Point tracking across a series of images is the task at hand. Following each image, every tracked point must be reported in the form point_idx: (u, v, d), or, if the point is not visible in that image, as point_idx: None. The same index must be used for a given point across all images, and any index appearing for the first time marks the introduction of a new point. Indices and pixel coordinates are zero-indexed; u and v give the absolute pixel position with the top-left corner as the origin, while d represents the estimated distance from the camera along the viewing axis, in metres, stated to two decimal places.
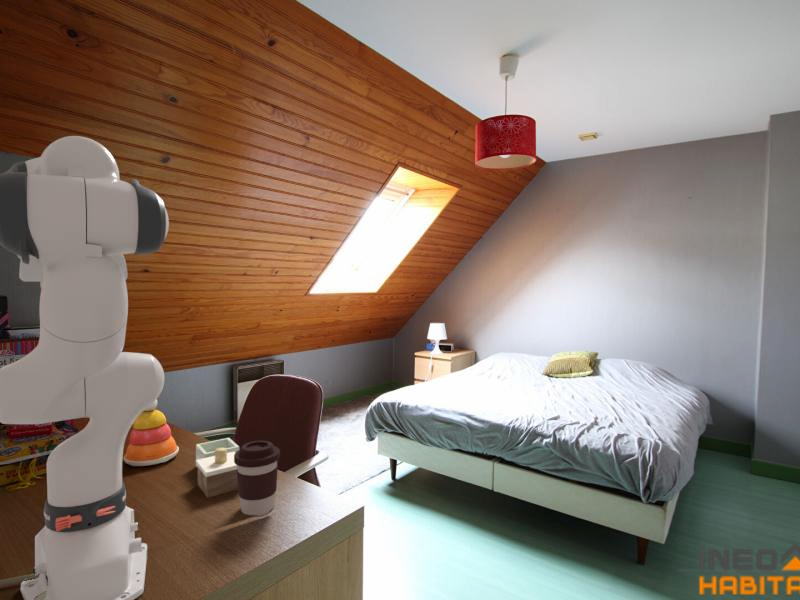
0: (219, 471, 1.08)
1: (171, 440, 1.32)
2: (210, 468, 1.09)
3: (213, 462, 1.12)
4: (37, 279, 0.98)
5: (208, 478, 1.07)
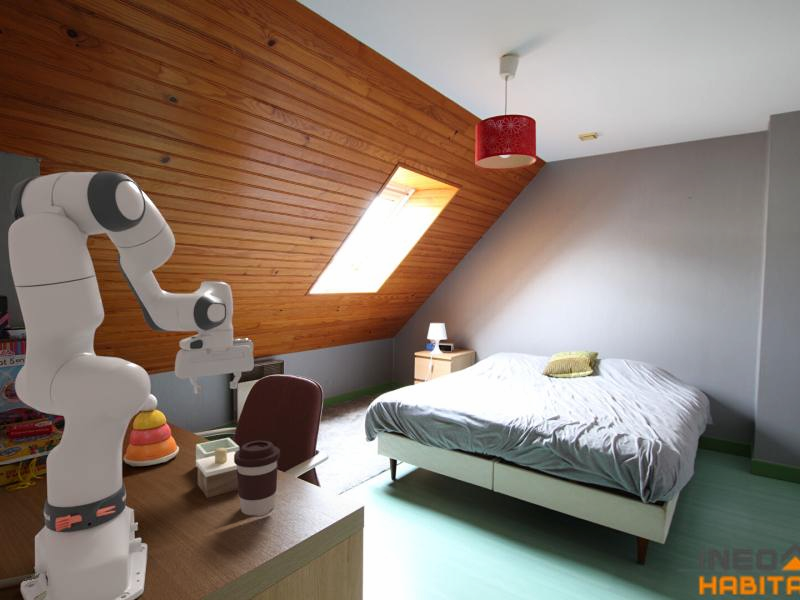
0: (219, 471, 1.08)
1: (171, 440, 1.32)
2: (210, 468, 1.09)
3: (213, 462, 1.12)
4: None
5: (208, 478, 1.07)
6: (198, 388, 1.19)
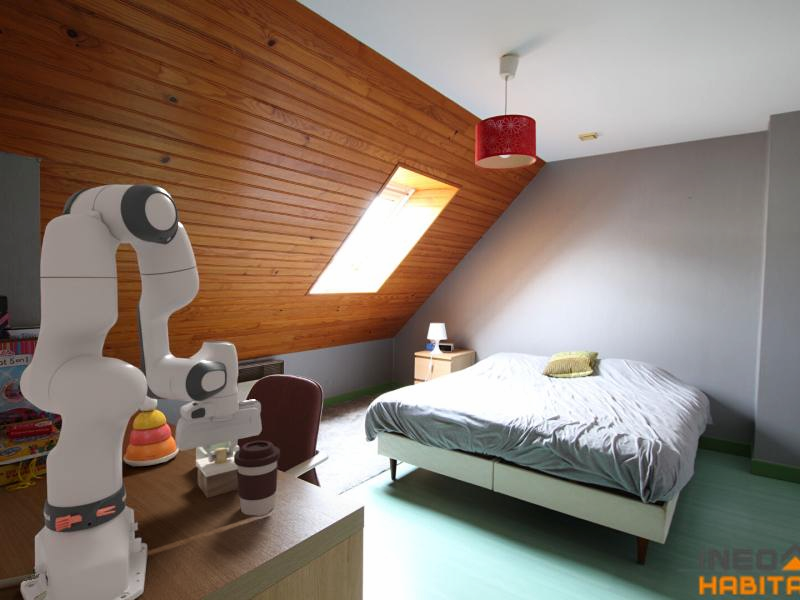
0: (219, 471, 1.08)
1: (171, 440, 1.32)
2: (210, 468, 1.09)
3: (213, 462, 1.12)
4: None
5: (208, 478, 1.07)
6: (212, 456, 1.11)
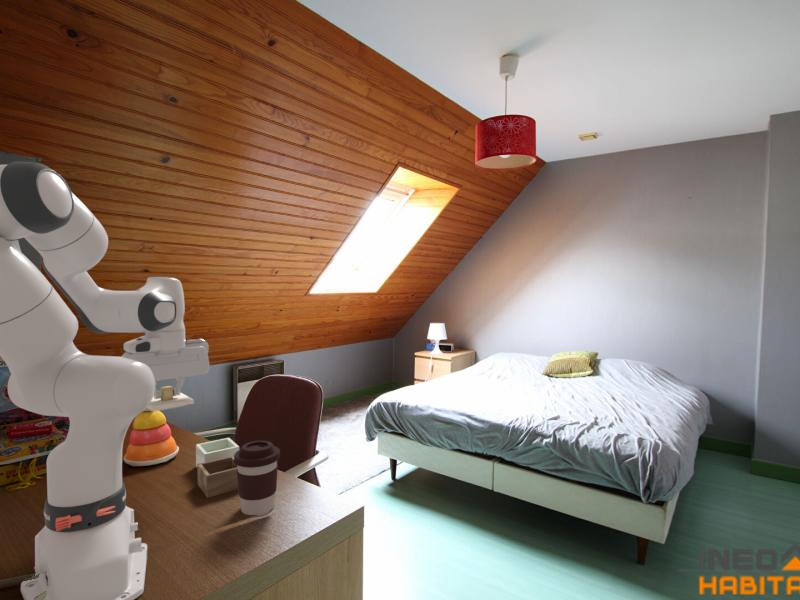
0: (165, 406, 1.08)
1: (171, 440, 1.32)
2: (156, 404, 1.08)
3: (159, 400, 1.11)
4: None
5: (208, 478, 1.07)
6: (158, 393, 1.10)
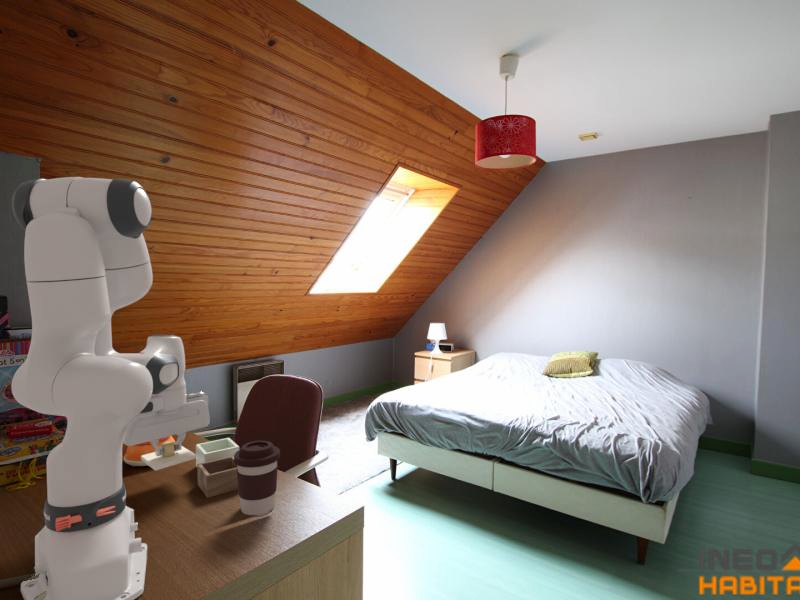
0: (168, 464, 1.09)
1: (171, 440, 1.32)
2: (158, 462, 1.09)
3: (160, 456, 1.12)
4: None
5: (208, 478, 1.07)
6: (160, 450, 1.11)
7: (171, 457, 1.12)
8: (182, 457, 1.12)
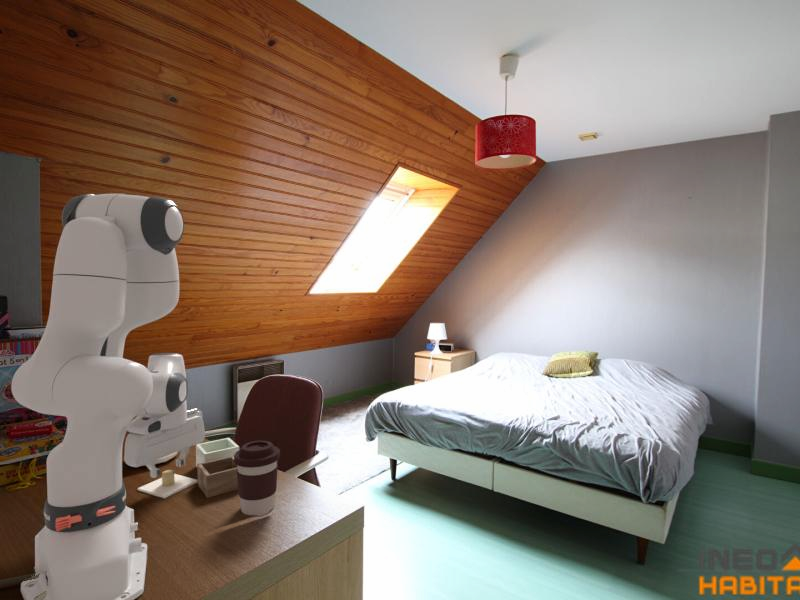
0: (175, 492, 1.09)
1: None
2: (164, 491, 1.09)
3: (161, 486, 1.12)
4: None
5: (208, 478, 1.07)
6: (157, 471, 1.09)
7: (173, 485, 1.12)
8: (185, 484, 1.13)
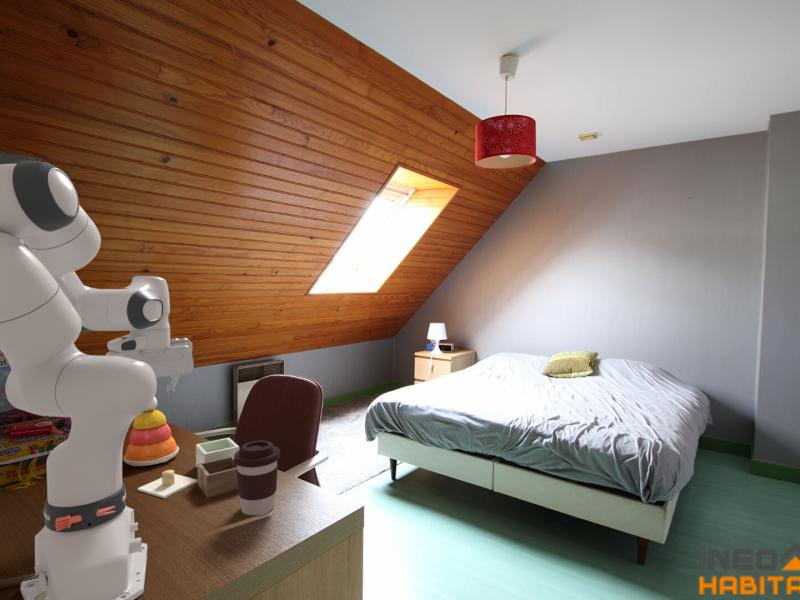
0: (175, 492, 1.09)
1: (171, 440, 1.32)
2: (164, 491, 1.09)
3: (161, 486, 1.12)
4: None
5: (208, 478, 1.07)
6: None
7: (173, 485, 1.12)
8: (186, 484, 1.13)
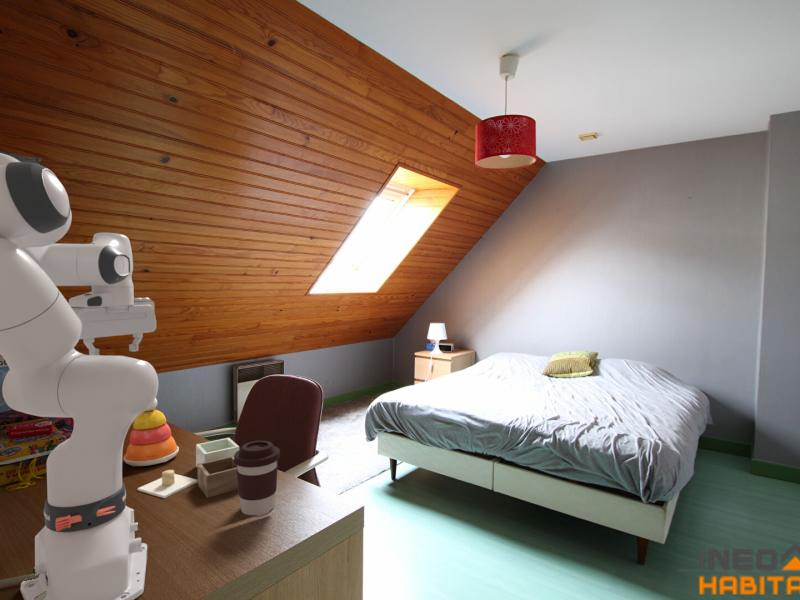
0: (175, 492, 1.09)
1: (171, 440, 1.32)
2: (164, 491, 1.09)
3: (161, 486, 1.12)
4: None
5: (208, 478, 1.07)
6: (95, 350, 1.08)
7: (173, 485, 1.12)
8: (186, 484, 1.13)
